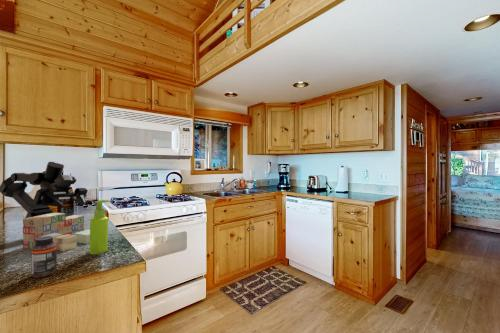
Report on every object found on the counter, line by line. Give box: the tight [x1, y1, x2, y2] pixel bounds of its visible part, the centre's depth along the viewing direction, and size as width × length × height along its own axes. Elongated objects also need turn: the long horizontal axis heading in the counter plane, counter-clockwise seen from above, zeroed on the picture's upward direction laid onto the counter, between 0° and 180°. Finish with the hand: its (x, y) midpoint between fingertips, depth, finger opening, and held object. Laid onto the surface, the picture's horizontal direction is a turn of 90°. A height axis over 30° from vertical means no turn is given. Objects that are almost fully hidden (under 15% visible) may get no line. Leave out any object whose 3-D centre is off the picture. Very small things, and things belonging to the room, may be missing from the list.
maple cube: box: [55, 234, 78, 252], centre depth 93 cm, size 5×5×5 cm
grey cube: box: [40, 233, 63, 243], centre depth 94 cm, size 5×5×5 cm
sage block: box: [74, 228, 90, 245], centre depth 104 cm, size 8×8×4 cm
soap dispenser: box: [89, 199, 111, 255], centre depth 91 cm, size 6×7×20 cm
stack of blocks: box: [22, 212, 85, 250], centre depth 102 cm, size 21×6×12 cm, turn 167°
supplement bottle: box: [30, 236, 58, 279], centre depth 71 cm, size 6×6×11 cm
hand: (73, 204), depth 97 cm, fingers open, 9 cm apart
